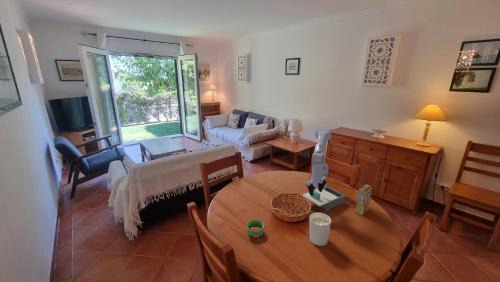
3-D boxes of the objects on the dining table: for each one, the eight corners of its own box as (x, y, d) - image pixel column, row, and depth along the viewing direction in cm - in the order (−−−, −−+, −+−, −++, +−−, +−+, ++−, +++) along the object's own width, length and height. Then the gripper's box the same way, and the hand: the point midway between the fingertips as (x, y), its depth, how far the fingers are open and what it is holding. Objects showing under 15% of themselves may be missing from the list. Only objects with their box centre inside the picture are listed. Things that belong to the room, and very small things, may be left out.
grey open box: (309, 199, 139) (310, 193, 137) (326, 193, 146) (327, 186, 145) (327, 210, 127) (327, 203, 126) (344, 202, 135) (345, 195, 133)
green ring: (248, 239, 106) (248, 232, 105) (245, 227, 114) (245, 220, 113) (266, 237, 107) (266, 229, 106) (261, 225, 116) (261, 218, 115)
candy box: (361, 206, 131) (365, 183, 126) (369, 209, 127) (372, 186, 123) (354, 212, 125) (358, 188, 121) (362, 215, 122) (365, 191, 118)
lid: (302, 195, 134) (302, 189, 133) (320, 188, 142) (320, 182, 140) (319, 206, 122) (320, 199, 121) (338, 198, 130) (338, 191, 129)
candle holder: (326, 250, 98) (328, 228, 95) (305, 242, 103) (306, 220, 100) (331, 237, 106) (333, 216, 103) (311, 230, 111) (312, 210, 108)
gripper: (313, 178, 118) (312, 199, 122) (331, 172, 125) (329, 192, 129) (304, 173, 124) (303, 194, 128) (321, 167, 131) (320, 187, 135)
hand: (315, 193), depth 129 cm, fingers open, 7 cm apart
